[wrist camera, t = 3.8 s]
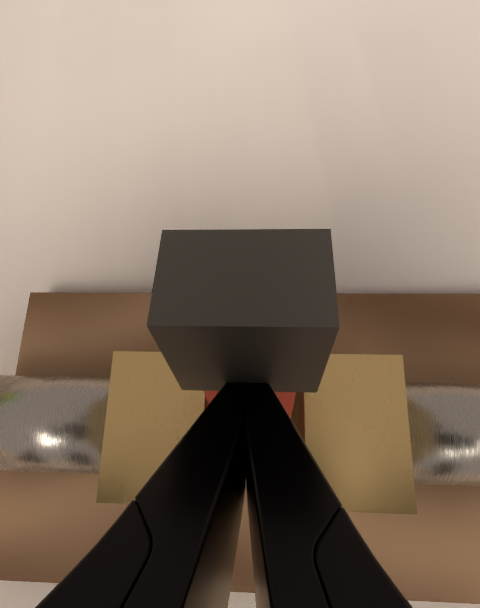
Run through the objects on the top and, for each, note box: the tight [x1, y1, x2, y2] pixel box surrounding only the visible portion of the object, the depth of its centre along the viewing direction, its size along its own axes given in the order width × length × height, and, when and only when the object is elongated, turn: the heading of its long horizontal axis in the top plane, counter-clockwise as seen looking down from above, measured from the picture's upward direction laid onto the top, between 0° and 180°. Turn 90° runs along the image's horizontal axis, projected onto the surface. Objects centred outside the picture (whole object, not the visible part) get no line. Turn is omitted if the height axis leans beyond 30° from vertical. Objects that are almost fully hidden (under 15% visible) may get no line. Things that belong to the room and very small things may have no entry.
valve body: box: [0, 351, 480, 515], centre depth 15 cm, size 4×22×6 cm, turn 89°
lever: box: [147, 229, 340, 419], centre depth 11 cm, size 2×3×11 cm
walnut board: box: [0, 293, 480, 604], centre depth 18 cm, size 12×22×2 cm, turn 89°
